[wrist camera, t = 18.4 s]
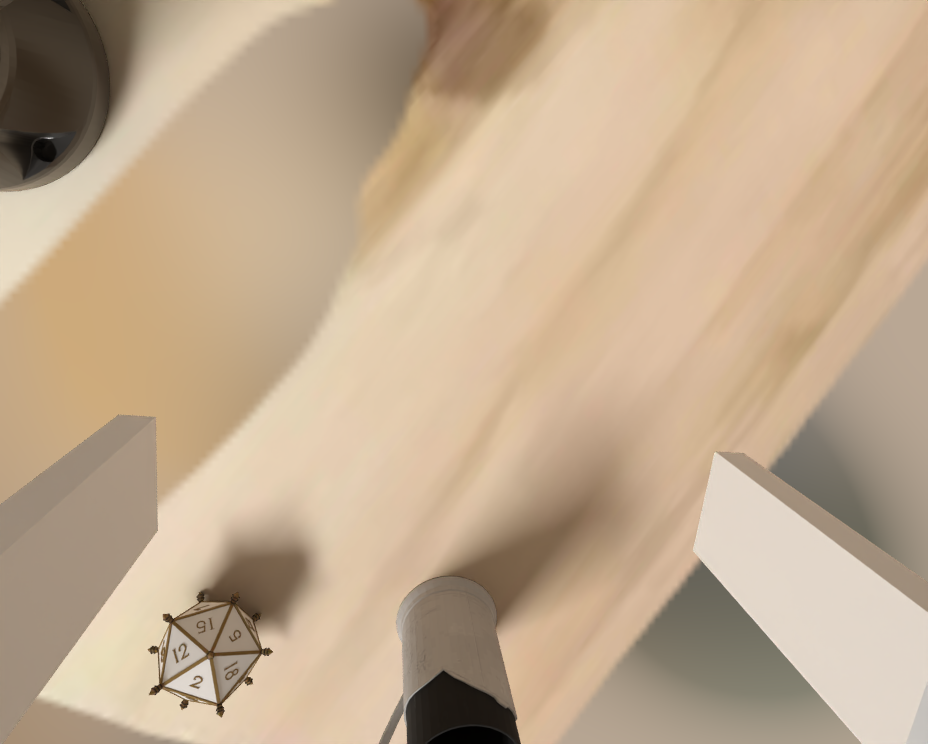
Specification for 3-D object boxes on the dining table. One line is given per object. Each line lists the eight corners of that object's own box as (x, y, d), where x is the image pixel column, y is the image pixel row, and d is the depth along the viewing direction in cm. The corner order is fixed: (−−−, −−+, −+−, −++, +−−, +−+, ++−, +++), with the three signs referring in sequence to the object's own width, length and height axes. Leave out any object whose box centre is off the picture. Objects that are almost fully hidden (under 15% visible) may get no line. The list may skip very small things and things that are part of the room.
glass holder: (517, 613, 54) (562, 761, 40) (408, 720, 56) (414, 898, 41) (444, 557, 52) (464, 692, 37) (333, 669, 53) (311, 840, 39)
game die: (254, 600, 55) (281, 714, 49) (149, 632, 51) (163, 760, 45) (252, 549, 49) (282, 672, 43) (132, 581, 45) (146, 721, 39)
